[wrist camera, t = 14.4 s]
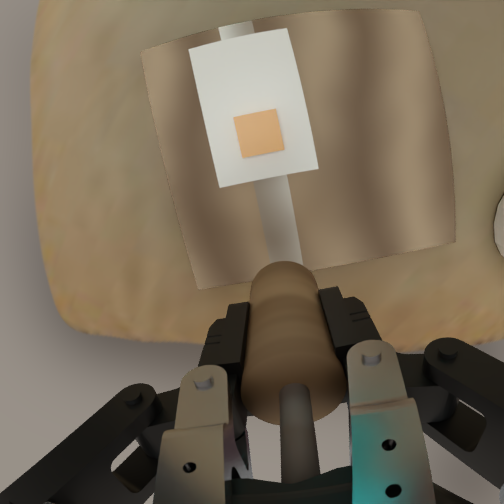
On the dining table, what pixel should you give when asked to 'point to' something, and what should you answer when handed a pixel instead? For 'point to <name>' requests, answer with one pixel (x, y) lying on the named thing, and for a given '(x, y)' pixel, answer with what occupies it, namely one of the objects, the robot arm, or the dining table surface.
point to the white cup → (499, 227)
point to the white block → (253, 107)
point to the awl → (290, 364)
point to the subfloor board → (316, 150)
